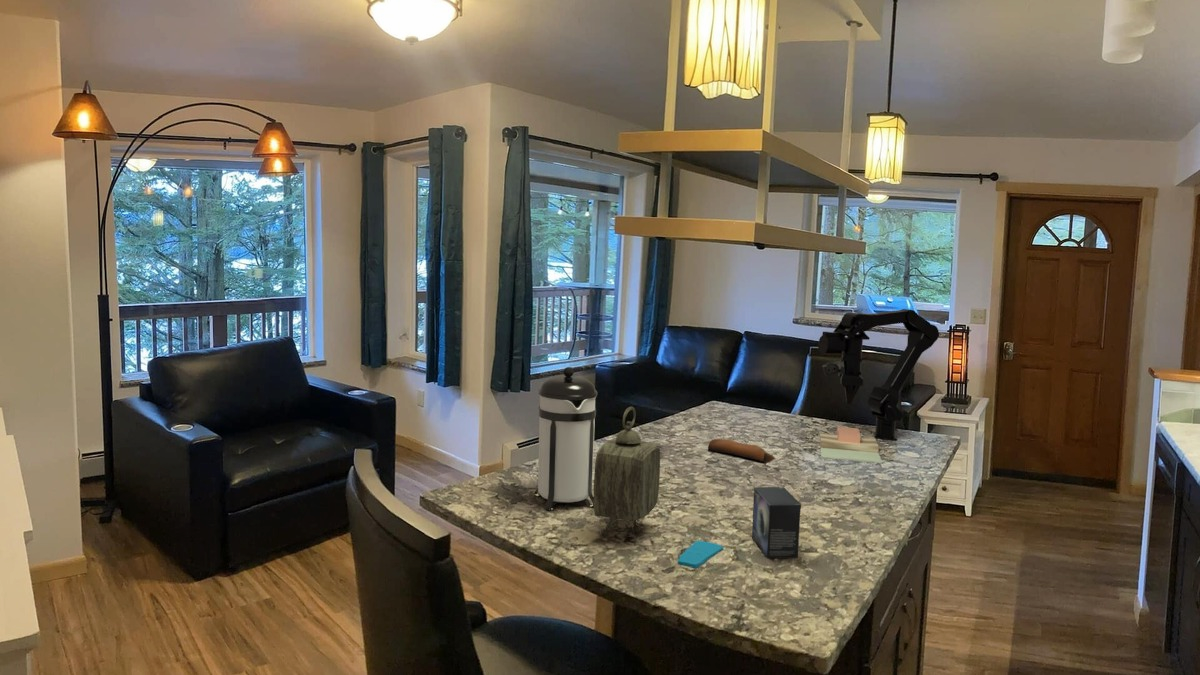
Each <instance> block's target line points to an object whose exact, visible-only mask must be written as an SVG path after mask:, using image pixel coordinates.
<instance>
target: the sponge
mask: <svg viewBox="0 0 1200 675" xmlns="http://www.w3.org/2000/svg"><path fill="white" fill-rule="evenodd" d="M723 549H724V547H723V545H720V544H718V543H713V542H710V541H709V542H708V541H703V540H696V541H694V542H693V543H692V544H691V545H690V546H689V547H688V548H687V549H686V550H685V551H684V552H682V554H680V555H679V556H678V560H677V565H679V566H686V567H690V568H693V569H698V568H699V567H701V566H702V565H704V564H706V562H707V561H709V560H710V559H711V558H713V557H714V556H715V555H717V554H718V553H720V552H722V550H723Z"/></svg>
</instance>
